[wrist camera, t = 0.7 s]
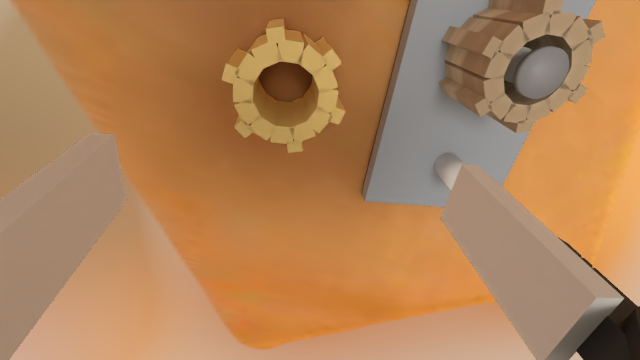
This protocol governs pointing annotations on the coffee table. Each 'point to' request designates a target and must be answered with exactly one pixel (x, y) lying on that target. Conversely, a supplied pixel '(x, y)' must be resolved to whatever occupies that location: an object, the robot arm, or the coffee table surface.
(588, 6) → the gear board
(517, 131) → the gear
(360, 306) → the coffee table surface
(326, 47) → the ochre gear
